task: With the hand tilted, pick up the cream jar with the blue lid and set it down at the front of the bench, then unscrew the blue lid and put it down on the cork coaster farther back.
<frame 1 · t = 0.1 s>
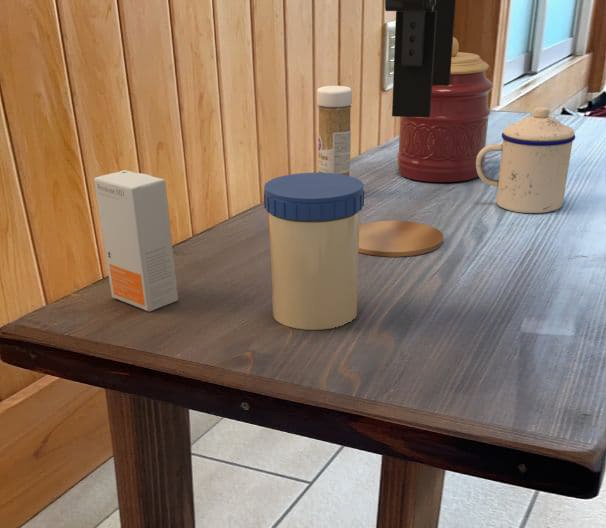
hand: (423, 99, 67), 20 cm above the table, tool pointing down, fingers open, 13 cm apart
cosmetic box: (145, 302, 88), on the table
teacup with lid: (517, 206, 113), on the table
jar: (315, 313, 84), on the table
brown spice bottle: (334, 197, 118), on the table
lid: (313, 189, 77), point 12 cm above the table, screwed on, not yet turned
coaster: (392, 240, 102), on the table
kitchen canister: (439, 174, 127), on the table
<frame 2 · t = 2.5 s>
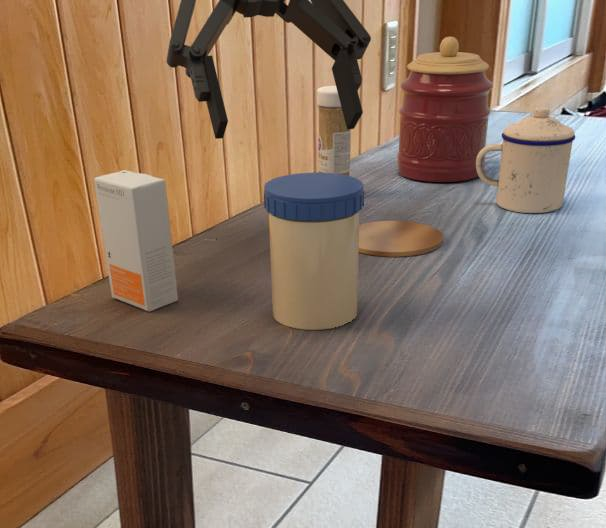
hand: (290, 126, 81), 15 cm above the table, tool tilted 40°, fingers open, 13 cm apart
nothing on the table moved.
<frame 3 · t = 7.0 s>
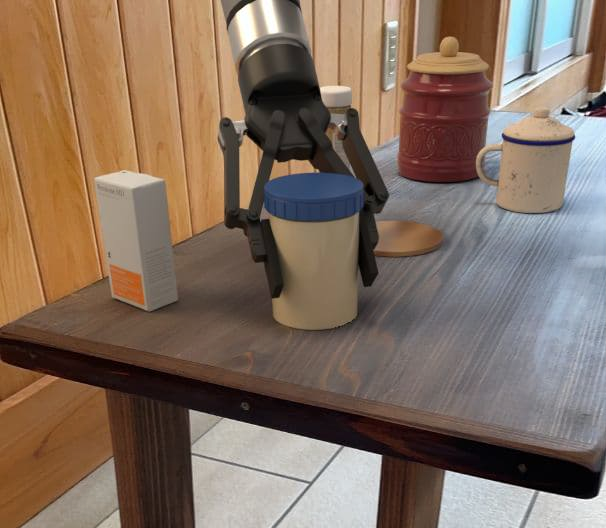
hand: (324, 285, 79), 4 cm above the table, tool tilted 45°, fingers closed on jar, 8 cm apart
jar: (315, 313, 84), on the table, touching gripper
everything else where it was.
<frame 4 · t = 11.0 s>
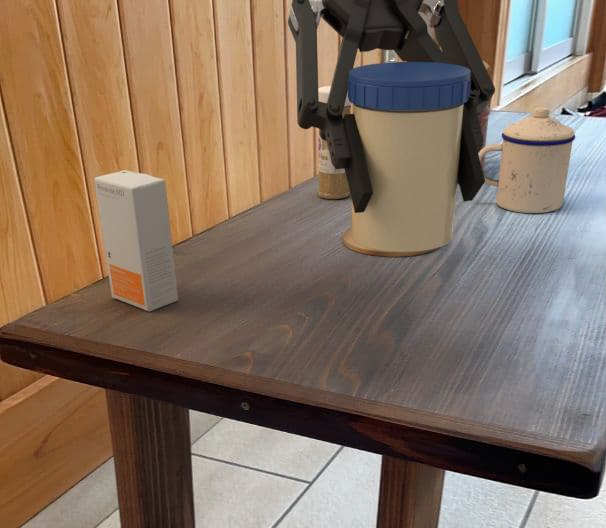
hand: (419, 197, 66), 14 cm above the table, tool tilted 45°, fingers closed on jar, 8 cm apart
jar: (401, 235, 70), point 10 cm above the table, touching gripper
lid: (409, 76, 63), point 22 cm above the table, screwed on, not yet turned
everything else where it was.
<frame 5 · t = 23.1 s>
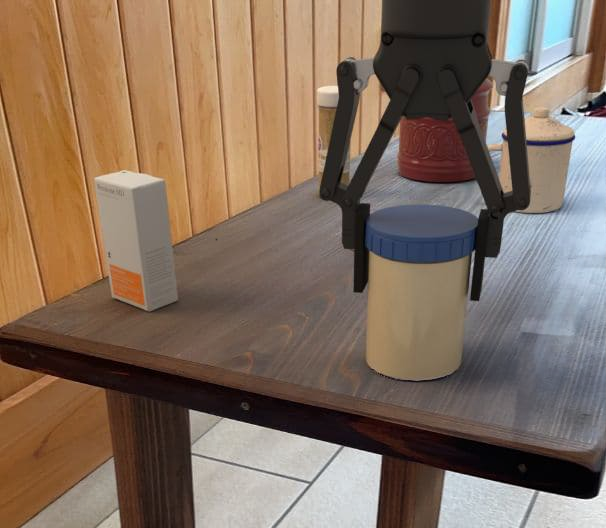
hand: (417, 290, 71), 6 cm above the table, tool pointing down, fingers closed on lid, 9 cm apart
jar: (413, 360, 75), on the table
lid: (421, 225, 68), point 12 cm above the table, screwed on, not yet turned, touching gripper
everything else where it was.
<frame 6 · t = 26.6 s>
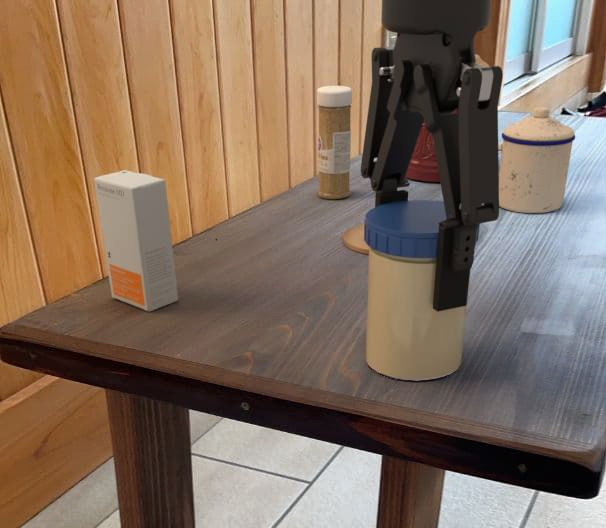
hand: (417, 287, 71), 7 cm above the table, tool pointing down, fingers closed on lid, 9 cm apart
lid: (421, 220, 68), point 12 cm above the table, off its thread, touching gripper
everything else where it was.
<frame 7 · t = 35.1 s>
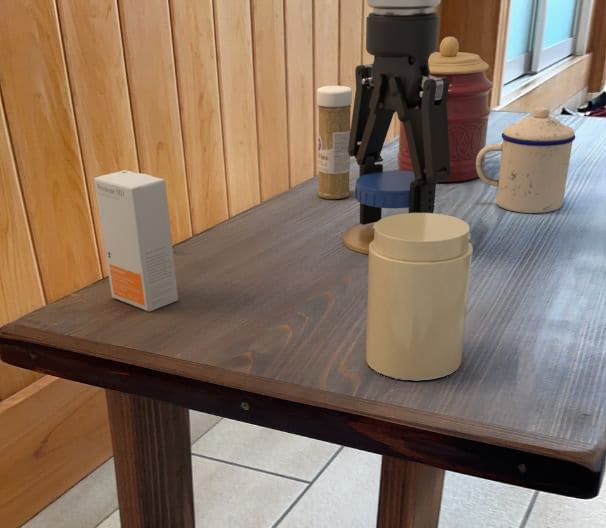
hand: (393, 231, 101), 1 cm above the table, tool pointing down, fingers closed on lid, 9 cm apart
lid: (395, 184, 98), point 6 cm above the table, off its thread, touching gripper
everything else where it was.
when the fingers open (2 cm above the table, at t = 44.8 s): lid drops 5 cm, resting on coaster.
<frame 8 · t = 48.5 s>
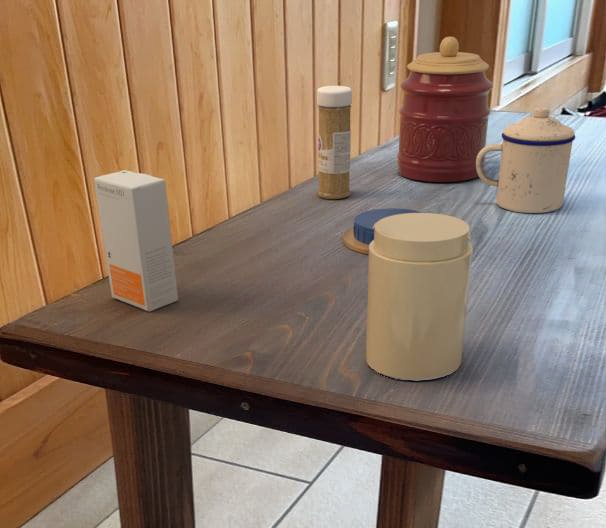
lid: (392, 222, 101), point 2 cm above the table, off its thread, touching coaster
everything else where it was.
at the end: jar inside the target area (0.0 cm from its centre), on the table; lid inside the target area on the coaster (0.1 cm from its centre), point 2.1 cm above the coaster's base; the gripper is holding nothing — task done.
